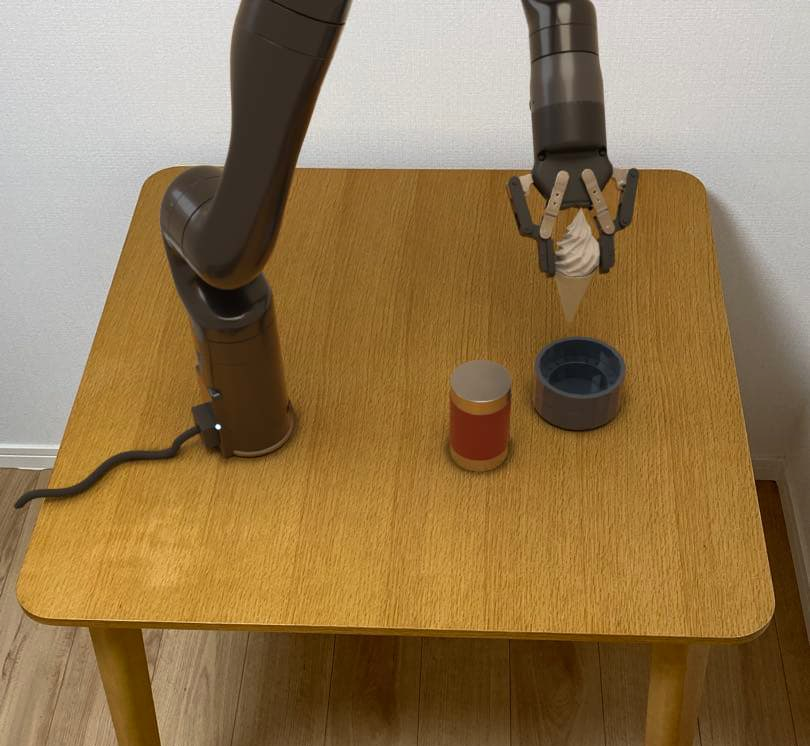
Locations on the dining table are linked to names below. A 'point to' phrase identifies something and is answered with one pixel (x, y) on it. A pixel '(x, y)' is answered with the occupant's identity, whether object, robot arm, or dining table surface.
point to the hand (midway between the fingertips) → (577, 274)
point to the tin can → (479, 415)
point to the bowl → (578, 382)
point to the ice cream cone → (575, 264)
